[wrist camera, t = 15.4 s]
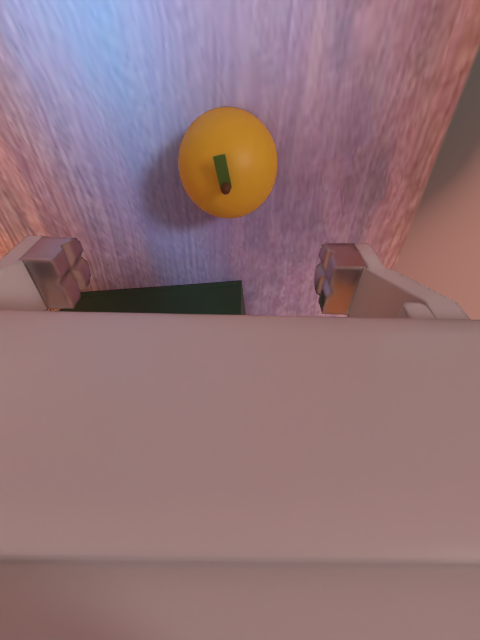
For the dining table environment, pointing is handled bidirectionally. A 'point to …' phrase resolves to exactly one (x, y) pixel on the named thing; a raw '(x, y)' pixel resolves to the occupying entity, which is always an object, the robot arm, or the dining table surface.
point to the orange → (227, 162)
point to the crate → (167, 300)
